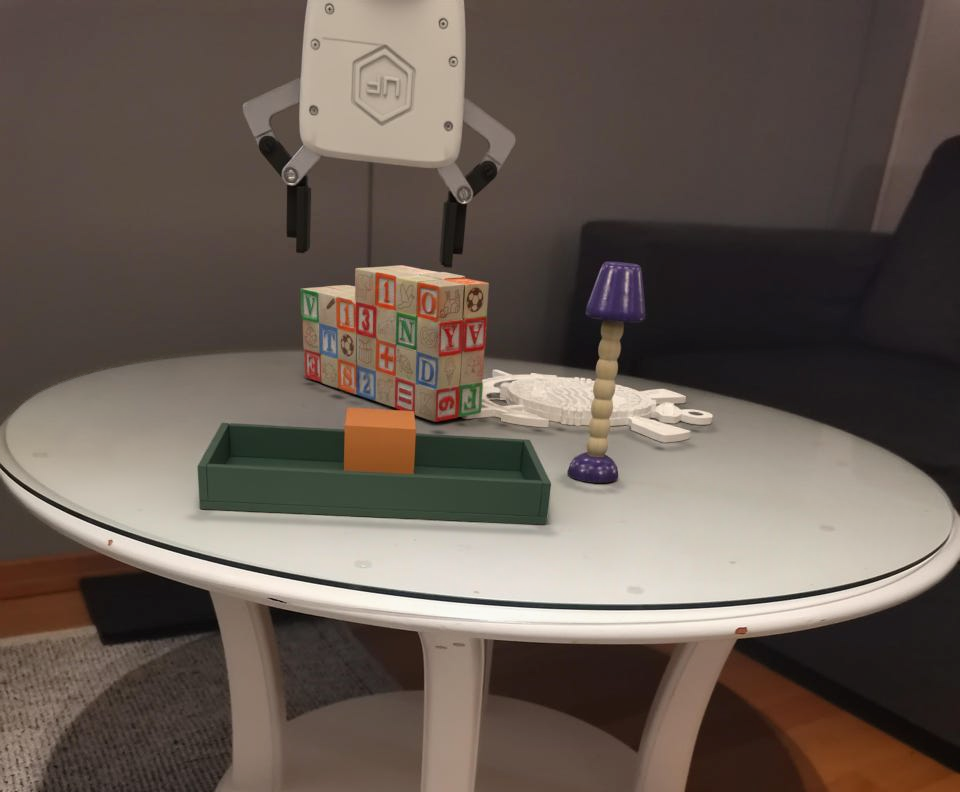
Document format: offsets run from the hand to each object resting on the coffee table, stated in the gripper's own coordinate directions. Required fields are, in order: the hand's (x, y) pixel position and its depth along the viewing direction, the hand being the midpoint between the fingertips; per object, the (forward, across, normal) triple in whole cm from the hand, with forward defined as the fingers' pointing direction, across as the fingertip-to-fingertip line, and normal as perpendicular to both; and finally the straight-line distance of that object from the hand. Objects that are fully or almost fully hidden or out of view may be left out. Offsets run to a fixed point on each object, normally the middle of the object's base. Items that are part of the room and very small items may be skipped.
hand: (374, 258), depth 66 cm
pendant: (+16, +22, +31) cm, 41 cm away
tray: (+16, +1, 0) cm, 16 cm away
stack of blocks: (+16, +2, +30) cm, 34 cm away
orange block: (+16, +1, 0) cm, 16 cm away
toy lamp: (+16, +19, +7) cm, 26 cm away
